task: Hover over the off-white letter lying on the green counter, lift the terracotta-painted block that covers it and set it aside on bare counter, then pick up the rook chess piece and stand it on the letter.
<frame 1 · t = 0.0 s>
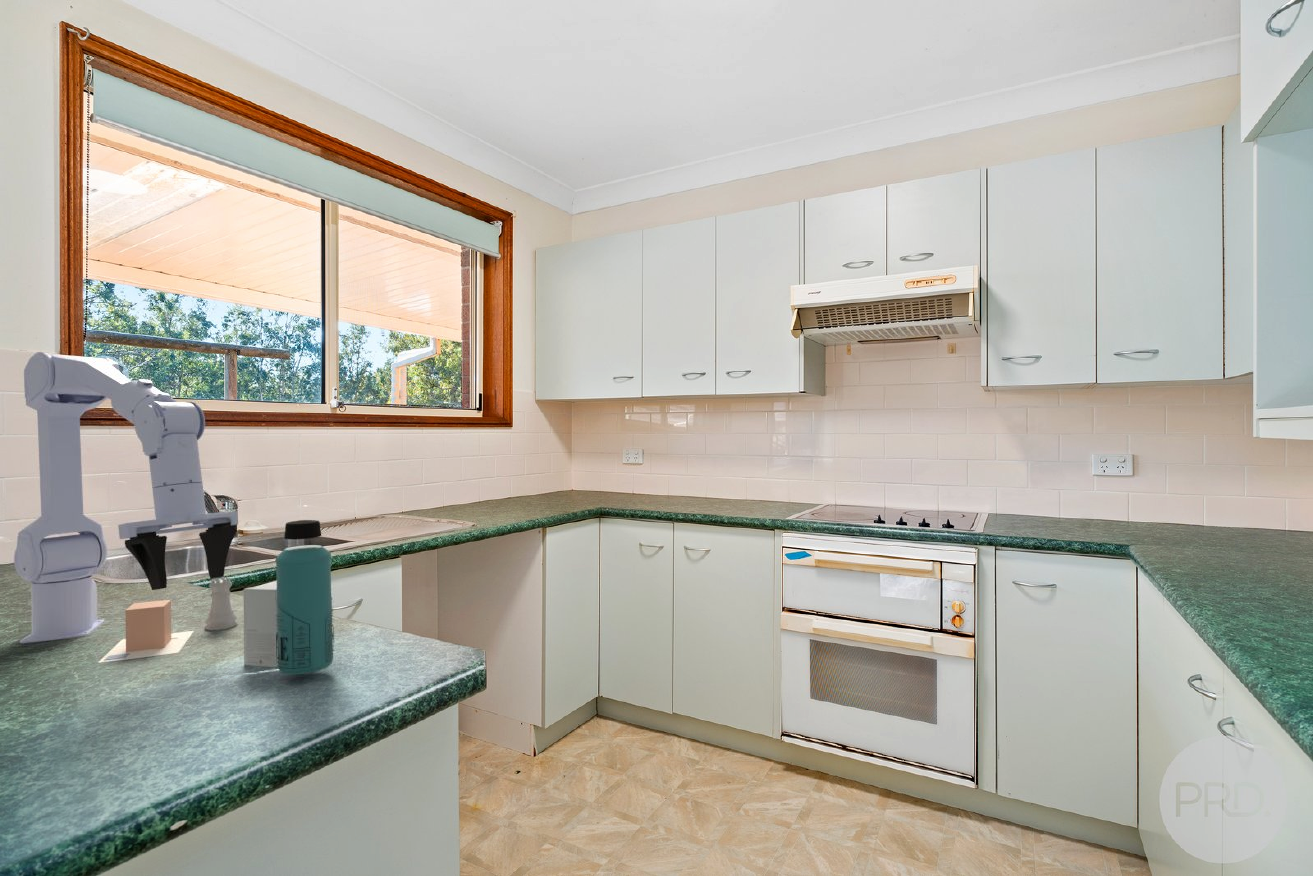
hand: (189, 583, 92), 11 cm above the counter, tool pointing down, fingers open, 7 cm apart
small box: (283, 660, 91), on the counter
letter: (149, 647, 97), on the counter
block: (149, 645, 97), resting on letter
rook chess piece: (221, 629, 107), on the counter
beverage bottle: (305, 679, 84), on the counter
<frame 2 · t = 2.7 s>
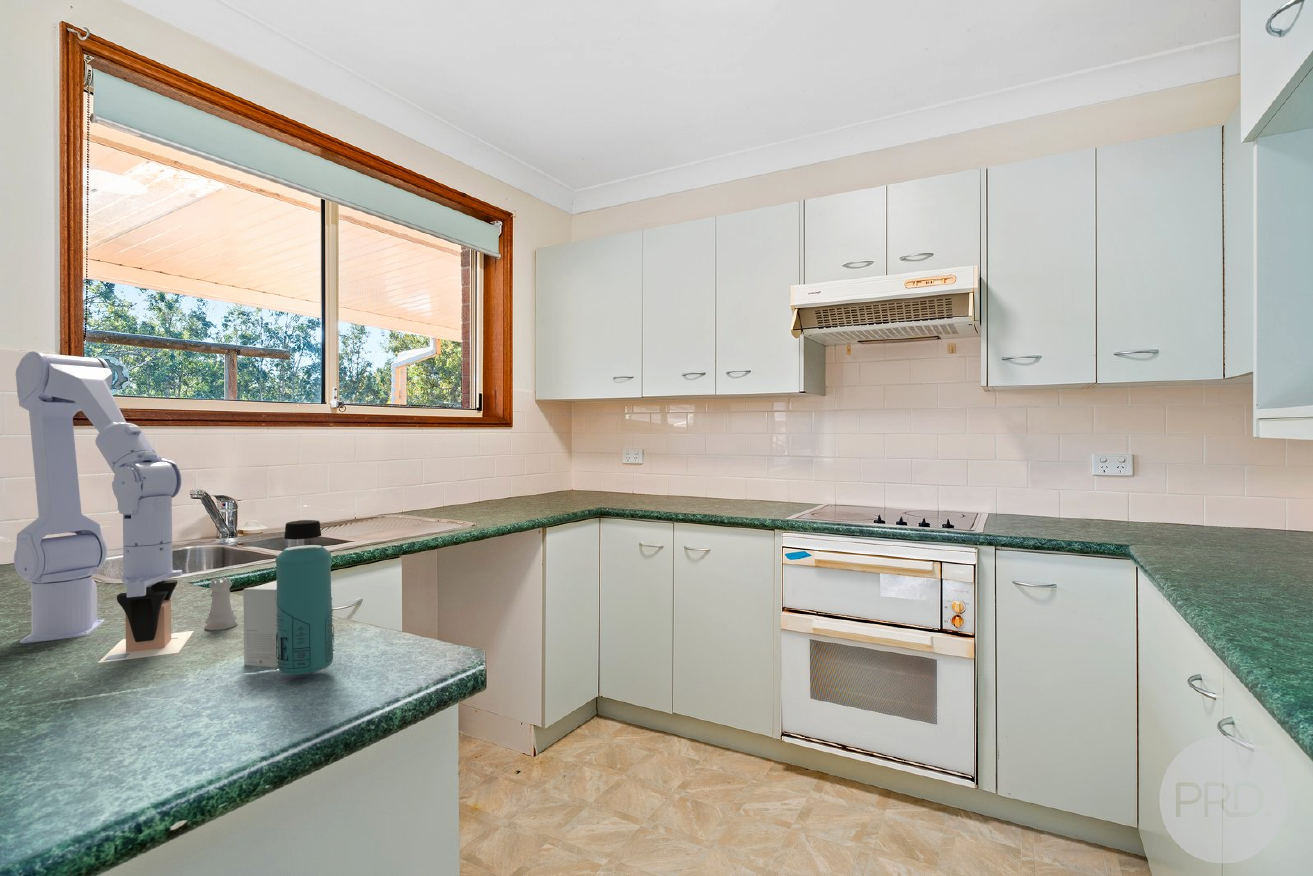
hand: (149, 636, 97), 2 cm above the counter, tool pointing down, fingers closed on block, 4 cm apart
block: (149, 645, 97), resting on letter, touching gripper
everything else where it was.
when the fingers open (2 cm above the counter, at t = 5.6 s): block stays where it is, resting on letter.
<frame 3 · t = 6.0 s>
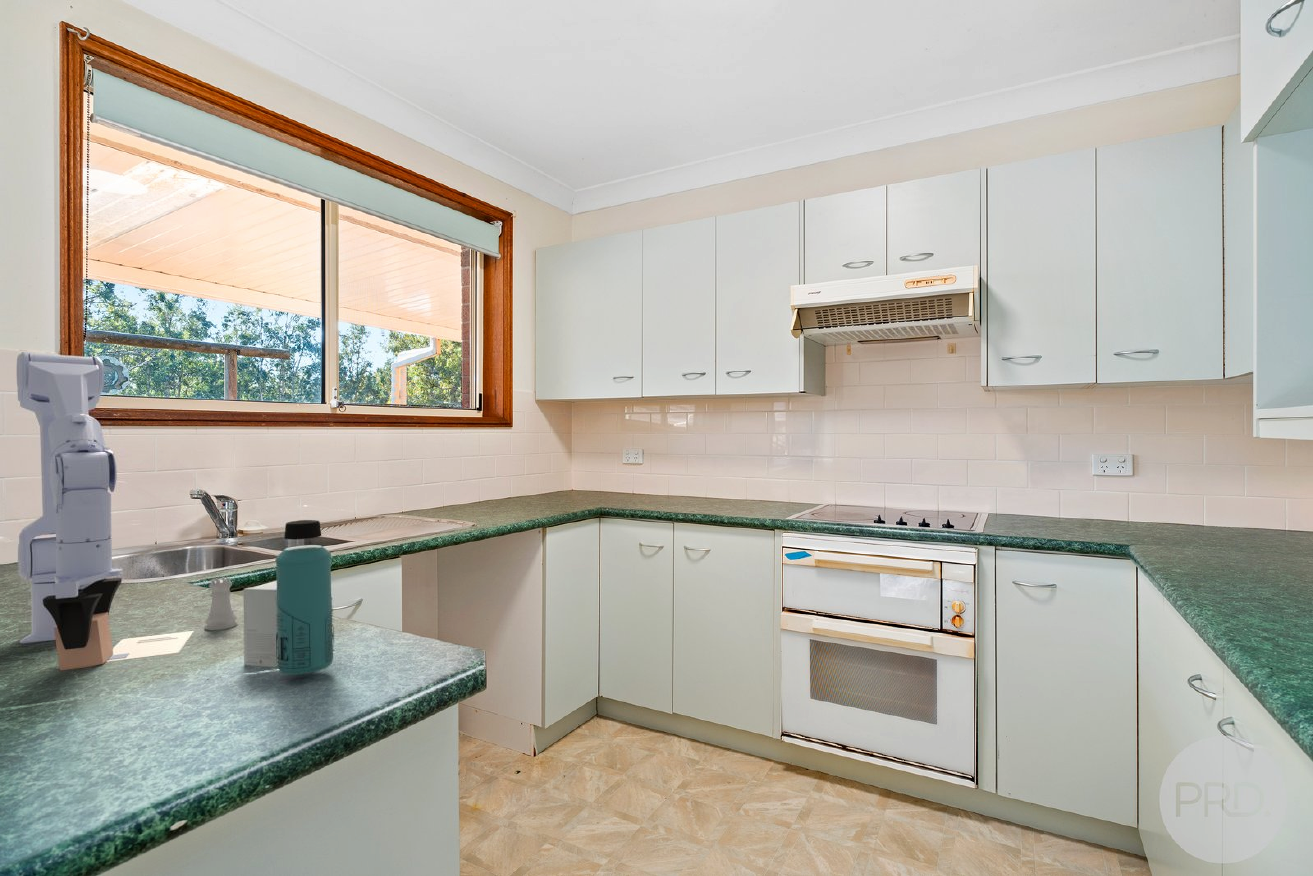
hand: (85, 640, 90), 3 cm above the counter, tool pointing down, fingers open, 7 cm apart
block: (87, 663, 90), on the counter, tilted 5°, touching letter
everything else where it was.
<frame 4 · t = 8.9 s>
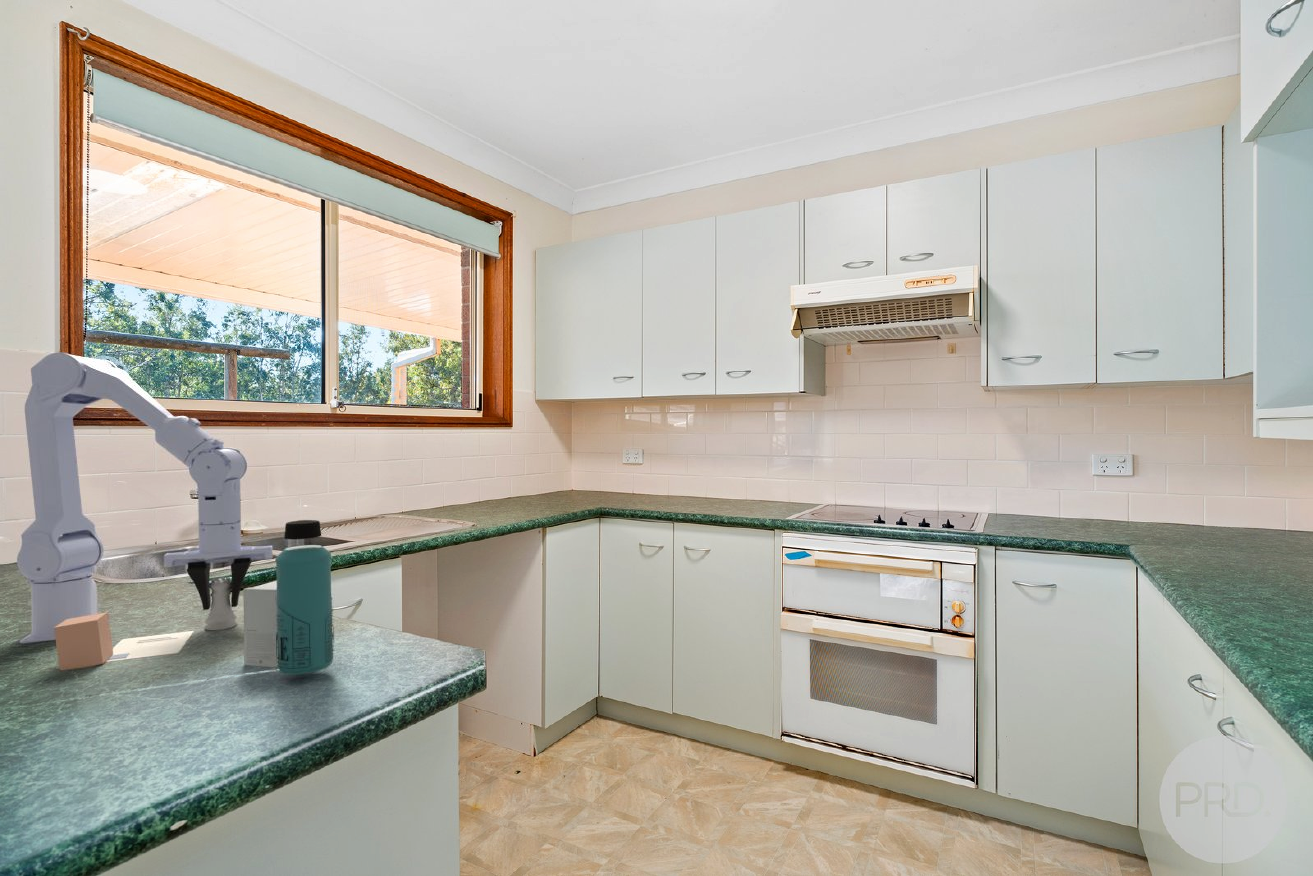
hand: (220, 607, 107), 3 cm above the counter, tool pointing down, fingers closed on rook chess piece, 3 cm apart
rook chess piece: (221, 629, 107), on the counter, touching gripper
everything else where it was.
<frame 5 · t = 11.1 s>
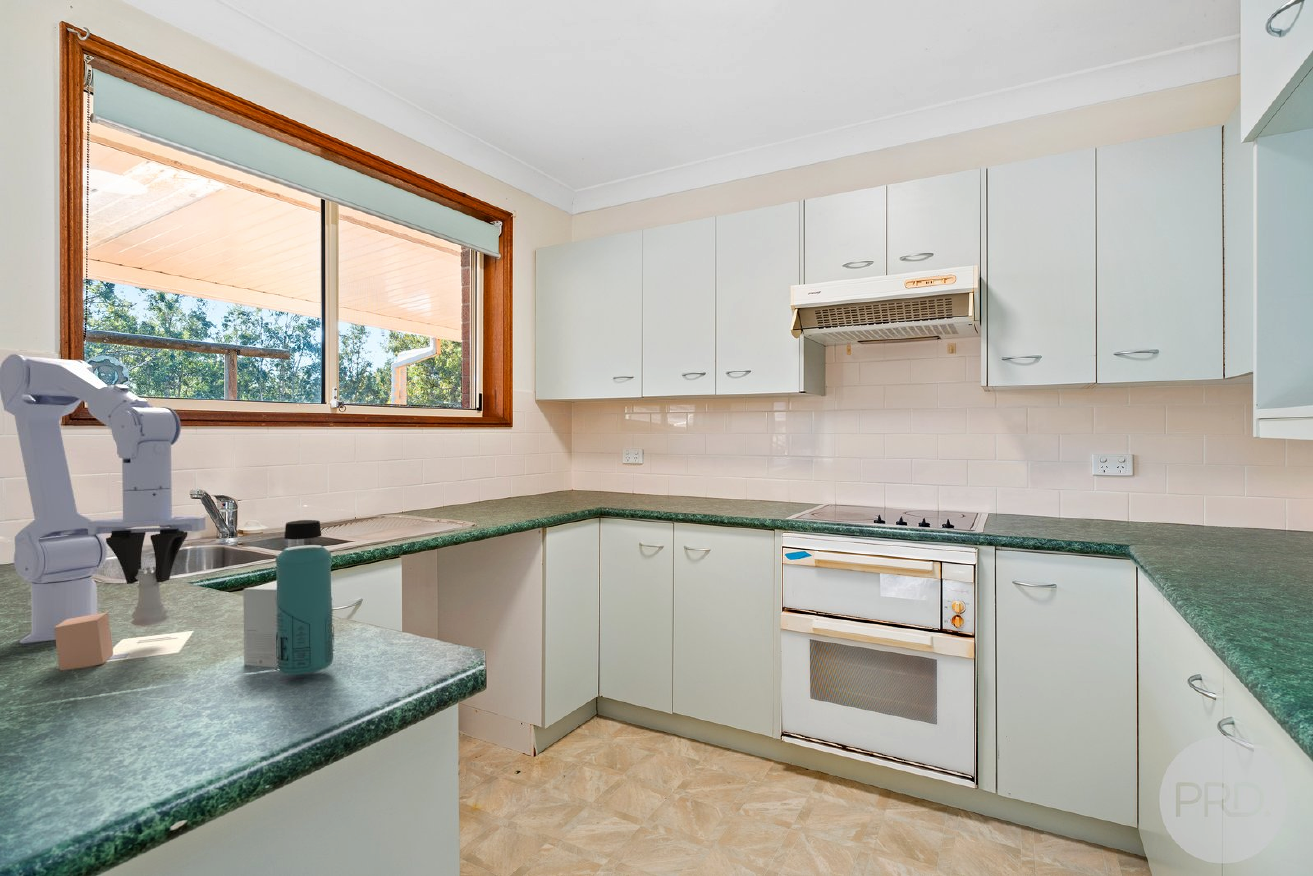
hand: (148, 581, 97), 10 cm above the counter, tool pointing down, fingers closed on rook chess piece, 3 cm apart
rook chess piece: (150, 624, 97), point 3 cm above the counter, touching gripper
everything else where it was.
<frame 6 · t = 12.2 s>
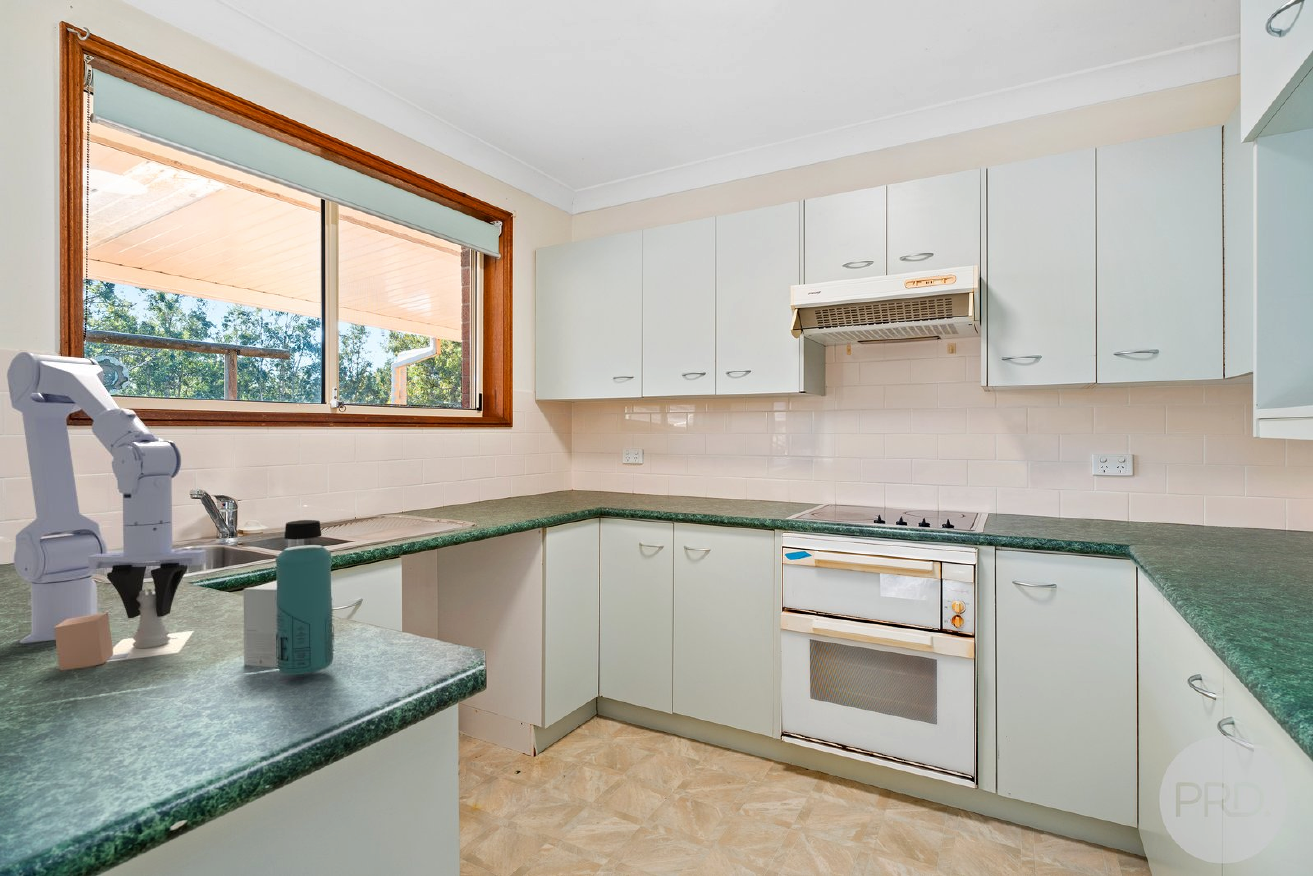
hand: (149, 615, 97), 5 cm above the counter, tool pointing down, fingers closed on rook chess piece, 3 cm apart
rook chess piece: (151, 645, 97), resting on letter, touching gripper
everything else where it was.
when the fingers open (5 cm above the counter, at t = 12.5 s): rook chess piece stays where it is, resting on letter.
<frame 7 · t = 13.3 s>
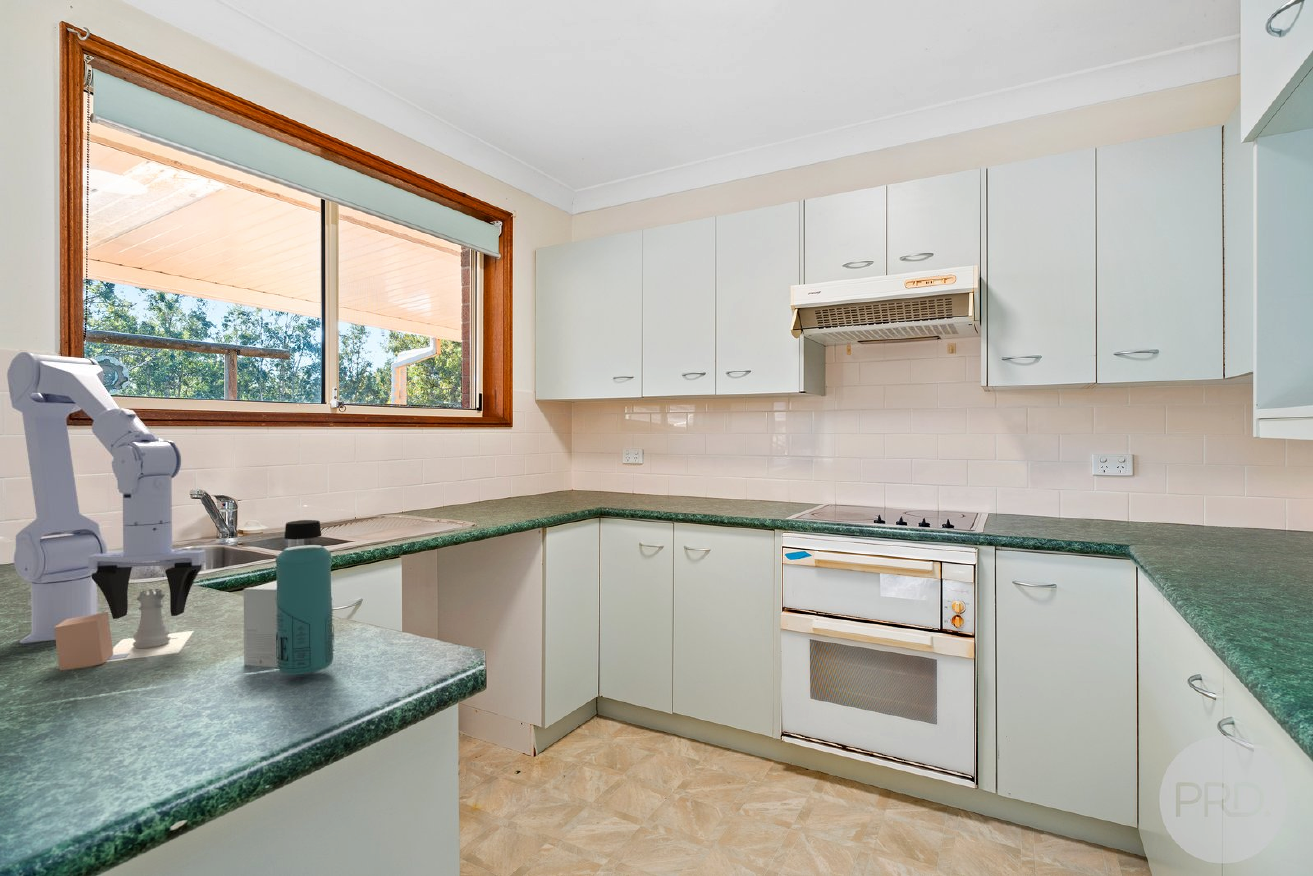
hand: (148, 615, 97), 5 cm above the counter, tool pointing down, fingers open, 7 cm apart
rook chess piece: (151, 646, 97), resting on letter
everything else where it was.
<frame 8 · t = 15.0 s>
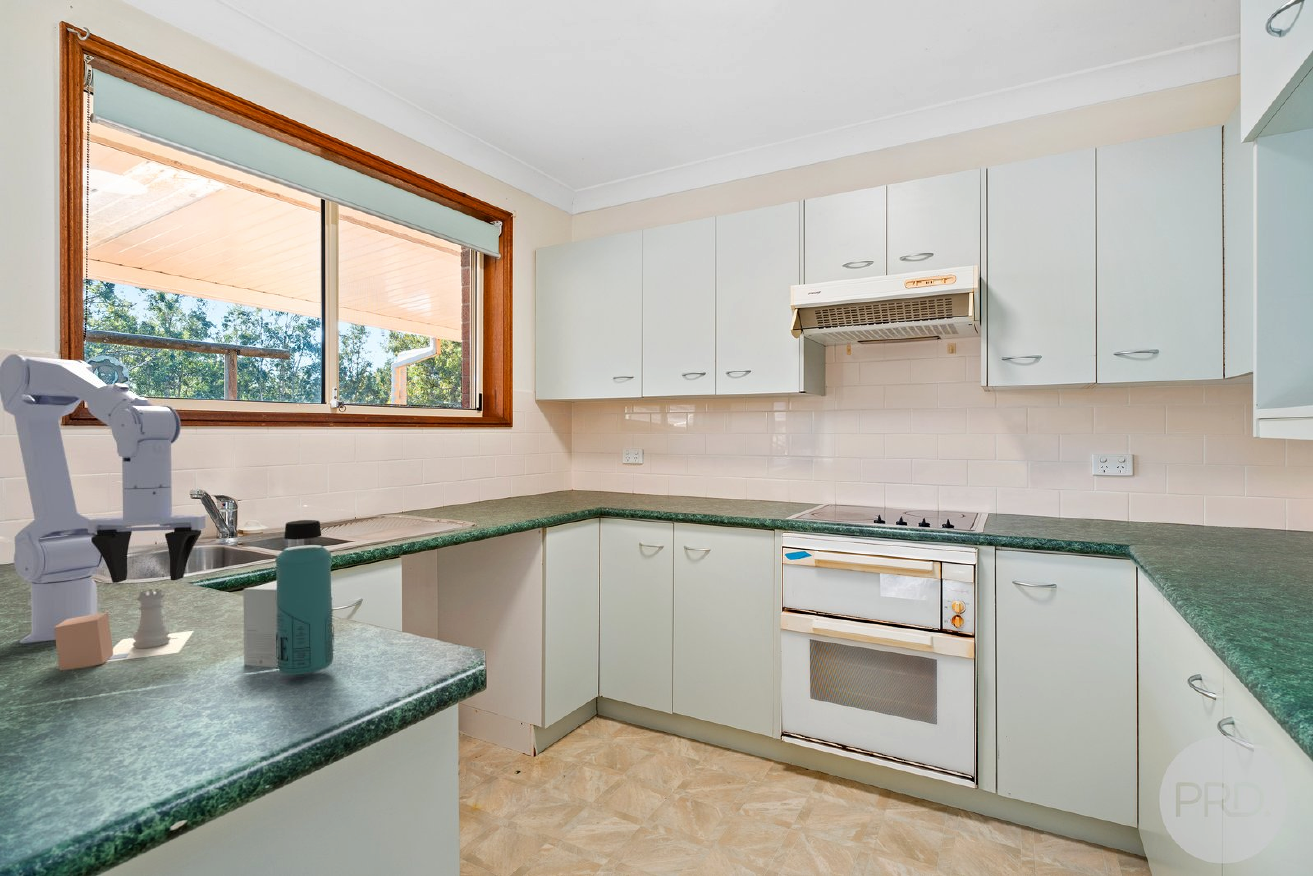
hand: (148, 580, 97), 10 cm above the counter, tool pointing down, fingers open, 7 cm apart
nothing on the counter moved.
at the end: rook chess piece inside the target area on the letter (0.4 cm from its centre), point 0.1 cm above the letter's base; rook chess piece tilted 1°; block inside the target area (2.7 cm from its centre), on the counter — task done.
